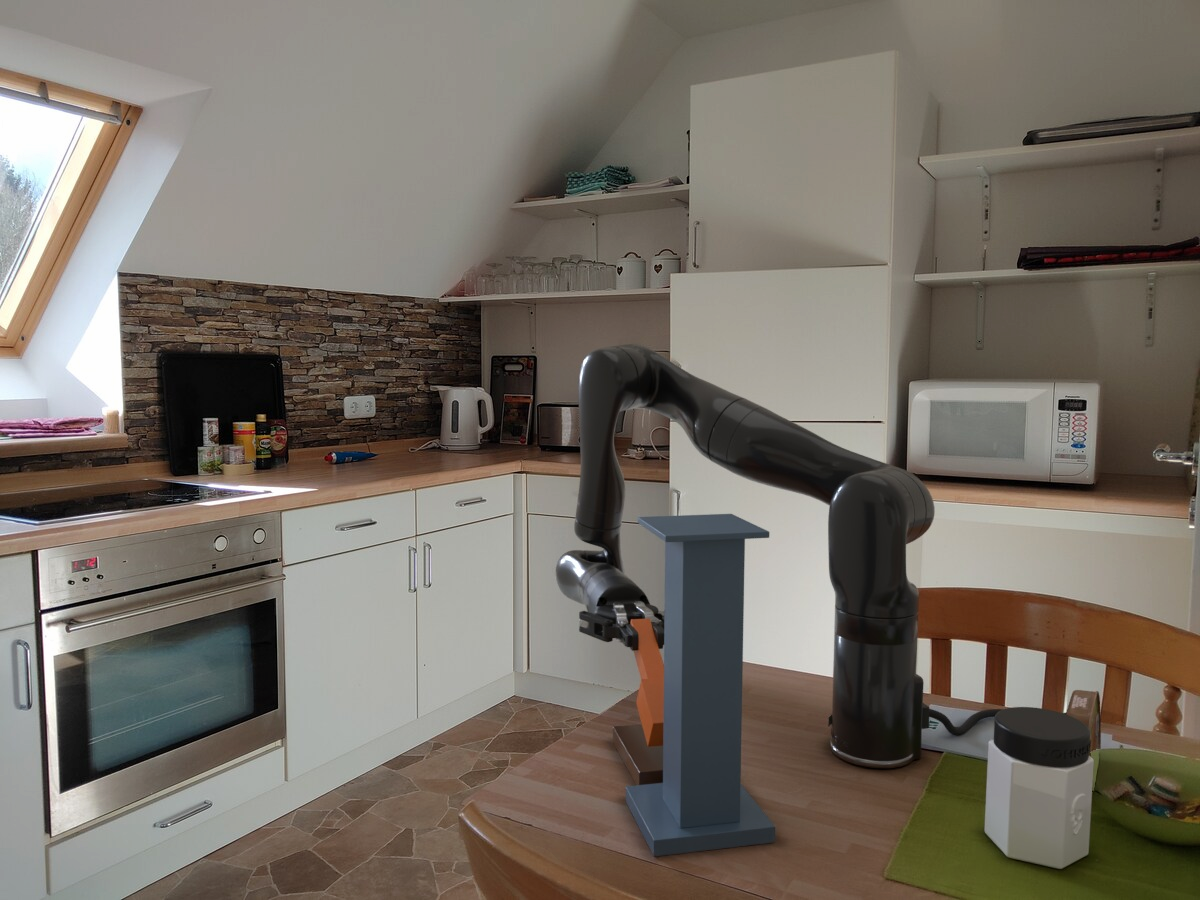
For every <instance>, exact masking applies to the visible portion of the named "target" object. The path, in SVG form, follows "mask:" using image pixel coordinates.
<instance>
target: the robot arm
mask: <svg viewBox="0 0 1200 900" xmlns="http://www.w3.org/2000/svg"><path fill="white" fill-rule="evenodd" d="M635 409H646V410H649V411H652V412H655V413H657V414H660V415H662V416H663V417H665V418H668V419H670V420H672V421H673V422H675V423H676V424H678V425H679V426H680V427H681V428H682V429H683V431H684V433H685V434H686V436H687V437H688V439H689V441H690V442H691V444H692V445H693V447H694V449H696V450H697V452H698V453H700V454H701V455H702V456H703V457H704V458H706V459H708V460H709V461H711V462H712V463H714V464H716V465H718V466H720V467H722V468H723V469H725V470H727V471H729V472H731V473H732V474H734V475H737V476H739V477H741V478H744V479H746V480H749V481H751V482H754V483H756V484H760V485H764V486H767V487H772V488H775V489H778V490H779V489H780V490H783V491H787V492H791V493H796V494H799V495H803V496H807V497H809V498H811V499H815V500H816V501H820V502H821V503H824V504H825V505H827V506H828V507H829V508H828V516H827V517H828V518H827V542H828V544H827V547H828V575H829V576H828V577H829V580H830V581H829V582H830V584H831V587H832V589H833V592H834V624H833V625H834V626H833V627H834V628H833V629H834V630H833V631H834V632H833V664H832V665H833V666H832V667H833V668H832V669H833V670H832V698H831V699H832V701H831V702H832V703H831V706H832V707H831V708H832V709H831V714H830V715H829V716H828V718H827V719H828V721H827V722H828V723H827V726H828V728H829V727H830V726H831V729H830V736H831V737H830V741H829V742H830V743H829V748H830V751H831V752H832V753H833V754H834V755H835V756H836V757H837V758H839V759H841V760H843V761H845V762H847V763H850V764H852V765H857V766H861V767H866V768H872V769H893V768H894V769H895V768H900V767H903V766H906V765H909V764H911V763H912V761H913V760H920V759H921V758H922V737H923V736H922V734H923V730H925V729H929V728H930V718H931V719H934V720H937V721H939V722H940V723H941V724H942V725H943V727H944V728H945V729H946V730H947V732H948V733H949V734H951V735H955V736H961V735H964V734H966V733H967V732H968V731H969V730H970V729H971V728H972V727H973V726H974V725H975V724H977V722H979V721H981V720H983V719H989V718H995V715H996V714H997V713H998V712H999V711H1001V710H1003V709H1004V708H990V709H984V710H980V711H977V712H975V713H973V714H972V715H971V716H969V717H968V718H967V719H966V720H965V721H964V722H963V723H962V724H960V726H955V725H954V724H953V723H952V722H951V720H950V719H949V717H948V716H947V715H945V714H944V713H942V712H941V711H939V710H935V709H932V708H931V707H930V706H929V705H927V704H925V702H924V684H925V683H924V679H923V677H922V676H920V675H919V674H917V664H918V663H917V662H918V661H917V660H918V636H919V635H918V634H919V633H918V632H919V610H920V593H919V589H918V587H917V586H916V585H915V584H914V583H913V582H911V581H909V579H908V575H907V545H908V544H910V543H913V542H915V541H916V540H918V539H919V538H921V537H922V536H923V535H924V534H926V533H927V532H928V531H929V529H930V528H931V526H932V524H933V522H934V518H935V514H936V513H935V504H934V499H933V497H932V494H931V492H930V491H929V489H928V488H927V486H926V484H925V483H924V482H923V481H921V479H920V478H919V477H918V476H916V475H915V474H913V473H912V472H910V471H909V470H906V469H903V468H901V467H898V466H895V465H892V464H889V463H886V462H884V461H881V460H877V459H874V458H871V457H869V456H866V455H863V454H860V453H857V452H854V451H853V450H849V449H847V448H844V447H842V446H840V445H837V444H835V443H833V442H831V441H829V440H827V439H826V438H824V437H822V436H820V435H819V434H816V433H815V432H813V431H811V430H809V429H807V428H805V427H803V426H801V425H799V424H797V423H795V422H793V421H791V420H789V419H787V418H785V417H783V416H781V415H779V414H777V413H776V412H774V411H772V410H770V409H768V408H766V407H764V406H762V405H760V404H758V403H756V402H753V401H751V400H749V399H747V398H745V397H742V396H741V395H739V394H735V393H733V392H730V391H728V390H726V389H724V388H722V387H720V386H718V385H716V384H713V383H712V382H709V381H707V380H704V379H702V378H700V377H698V376H696V375H694V374H691V373H690V372H688V371H687V370H685V369H683V368H682V367H680V366H678V365H677V364H675V363H674V362H672V361H671V360H669V359H668V358H666V357H664V356H663V355H661V354H659V353H658V352H657V351H655V350H653V349H651V348H649V347H647V346H645V345H642V344H638V343H628V344H619V345H613V346H605V347H599V348H597V349H594V350H592V351H591V352H589V353H587V354H586V355H585V357H584V358H583V360H582V362H581V365H580V369H579V376H578V422H579V423H578V424H579V425H578V426H579V448H580V449H579V450H580V451H579V452H580V453H579V455H580V474H579V475H580V476H579V485H578V486H579V487H578V492H577V493H578V495H577V502H576V509H575V515H574V523H573V525H574V526H573V531H574V534H575V536H576V537H577V538H578V540H580V541H581V542H584V543H586V544H589V545H592V546H595V547H599V548H602V549H603V550H589V549H588V550H587V549H586V550H582V549H573V550H569V551H566V552H564V553H563V554H562V555H561V556H560V557H559V558H558V561H557V563H556V566H555V572H554V573H555V581H556V584H557V587H558V588H559V589H558V590H559V591H560V592H561V593H562V595H564V596H565V597H566V598H568V599H569V600H571V601H573V602H576V603H579V604H581V605H584V606H585V608H586V610H582V611H579V612H578V616H579V617H578V632H579V633H582V634H583V635H587V636H589V637H591V638H594V639H597V640H599V641H601V642H604V643H611V642H613V640H614V639H615V640H617V642H618V643H621V644H623V646H624V647H625V648H629V649H630V650H631V651H632V652H634V651H635V650H638V646H639V635H638V632H637V631H636V630H635V628H634V627H633V626H632V625H631V624H630V622H631V620H632V619H650V621H651V624H652V628H653V631H654V634H655V637H656V641H657V644H658V647H659V650H664V611H663V610H659V608H658V607H657V606H656V605H653V604H651V603H650V600H649V598H648V597H647V595H646V593H645V591H643V589H641V588H640V586H639V585H637V584H636V583H635V582H634V581H633V580H632V578H631V577H629V576H628V575H626V572H625V564H624V558H623V552H622V541H621V540H622V539H621V536H622V535H621V531H622V524H623V517H624V511H625V510H624V509H625V505H626V504H625V502H626V495H627V494H626V482H625V477H624V474H623V471H622V468H621V466H620V463H619V460H618V456H617V454H616V448H615V430H616V426H617V421H618V418H619V414H620V412H624V411H630V410H635ZM1062 713H1063V714H1066V713H1067V711H1066V712H1062Z"/></svg>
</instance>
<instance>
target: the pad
mask: <svg viewBox="0 0 1200 900" xmlns="http://www.w3.org/2000/svg"><path fill="white" fill-rule="evenodd" d="M612 744H613V745H614V747H615V749H616V751H617V753H618V754H619V756H620V758H621V760H622V761H623V764H624V765H625V767H626V769H627V770H628V772H629V775H630V776H631V778H632V780H633V781H634V783H635V786H636V785H646V784H656V783H663V746H652V747H648V746H647V742H646V738H645V734H644V730H643V727H642V723H640V724H628V725H617V726H612Z"/></svg>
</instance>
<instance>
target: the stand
mask: <svg viewBox="0 0 1200 900" xmlns="http://www.w3.org/2000/svg"><path fill="white" fill-rule="evenodd" d="M637 524H639V525H640V526H642V527H643V528H645V529H646V530H647V531H649V532H650V533H652V534H653V535H654V536H656V537H657V538H659V539H660V540H662V541H663V542H664V609H663V610H664V645H663V664H664V722H663V783H656V784H646V785H636V784H635V785H626V786H625V803H626V805H627V807H628V809H629V810H630V812H631V814H632V816H633V818H634V820H635V822H636V824H637V826H638V828H639V830H640V832H641V835H642V837H643V838H644V840H645V842H646V844H647V846H648V848H649V850H650V852H651V854H652V856H653V857H662V856H671V855H680V854H687V853H696V852H697V853H698V852H705V851H713V850H721V849H730V848H739V847H748V846H755V845H757V846H758V845H764V844H773V843H776V825H775V824H774V823H773V821H771V819H770V818H769V816H768V815H767V814H766V813H765V812H764V811H763V809H762V808H761V806H759V804H758V803H757V802H756V800H755V799H754V798H753V796H751V794H750V793H749V791H748V790H747V789H746V788H745V787H744V786H743V784H742V783H741V782H742V781H741V780H742V779H741V778H742V777H741V776H742V770H741V769H742V730H743V729H742V727H743V726H742V722H743V672H744V671H743V669H744V667H743V666H744V617H745V616H744V611H745V607H744V606H745V563H746V562H745V561H746V559H745V553H746V540H751V539H752V540H753V539H769V538H770V531H769V530H767V529H765V528H762V527H760V526H759V525H756V524H754V523H752V522H750V521H748V520H745V519H743V518H742V517H739V516H737V515H735V514H733V513H715V514H714V513H713V514H712V513H710V514H689V515H687V514H686V515H685V514H684V515H683V514H682V515H659V516H655V515H654V516H637Z"/></svg>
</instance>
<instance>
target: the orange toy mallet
mask: <svg viewBox="0 0 1200 900" xmlns="http://www.w3.org/2000/svg"><path fill="white" fill-rule="evenodd" d="M630 624H631V625H632V626H633V627H634V628H635V630H636V631H637V632H638V635H639V646H638V650H635V651H633V654H634V659H635V662H636V665H637V669H638V673H639V676H640V683H639V687H638V693H637V696H636V702H635V703H636V708H637V710H638V711H637V712H638V714H639V718H640V722H641V723H640V724H642V727H643V730H644V734H645V738H646V742H647V746H648V747H652V746H663V722H664V659H663V658H662V655H661V651H660V650H661V649H659V647H658V644H657V641H656V637H655V634H654V631H653V628H652V624H651V621H650V619H632V620H631V622H630Z"/></svg>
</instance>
